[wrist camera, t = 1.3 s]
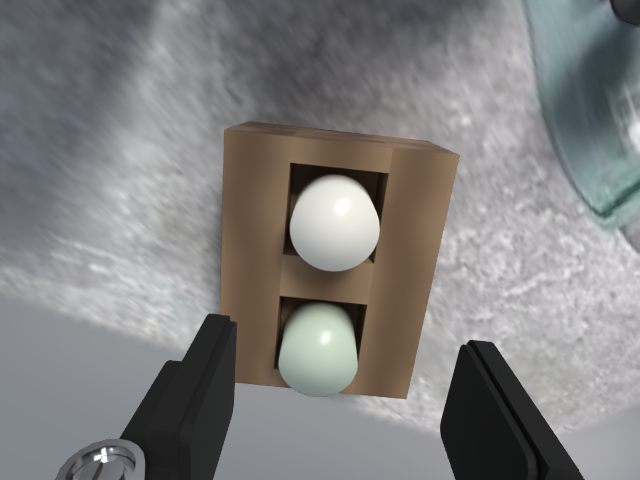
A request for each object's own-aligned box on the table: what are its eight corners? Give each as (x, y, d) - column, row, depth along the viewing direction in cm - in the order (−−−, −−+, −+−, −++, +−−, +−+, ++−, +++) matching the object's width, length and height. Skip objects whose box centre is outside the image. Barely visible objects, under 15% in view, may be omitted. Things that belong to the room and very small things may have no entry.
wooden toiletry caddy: (428, 141, 32) (459, 155, 24) (390, 338, 38) (406, 399, 30) (249, 121, 31) (224, 129, 24) (240, 323, 37) (218, 380, 30)
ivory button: (377, 177, 26) (386, 191, 22) (366, 250, 27) (372, 275, 23) (298, 168, 25) (293, 181, 22) (292, 242, 27) (286, 266, 23)
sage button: (358, 303, 29) (362, 334, 25) (349, 362, 30) (352, 400, 26) (287, 296, 28) (281, 326, 25) (282, 355, 30) (275, 392, 26)
